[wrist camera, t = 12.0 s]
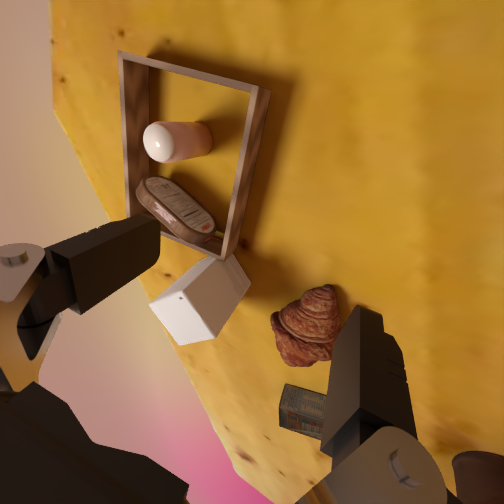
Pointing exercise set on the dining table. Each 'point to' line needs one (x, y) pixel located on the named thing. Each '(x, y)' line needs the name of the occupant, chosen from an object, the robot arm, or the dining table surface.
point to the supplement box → (201, 299)
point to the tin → (176, 209)
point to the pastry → (307, 328)
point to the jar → (177, 141)
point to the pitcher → (479, 478)
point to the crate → (137, 158)
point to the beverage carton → (302, 411)
